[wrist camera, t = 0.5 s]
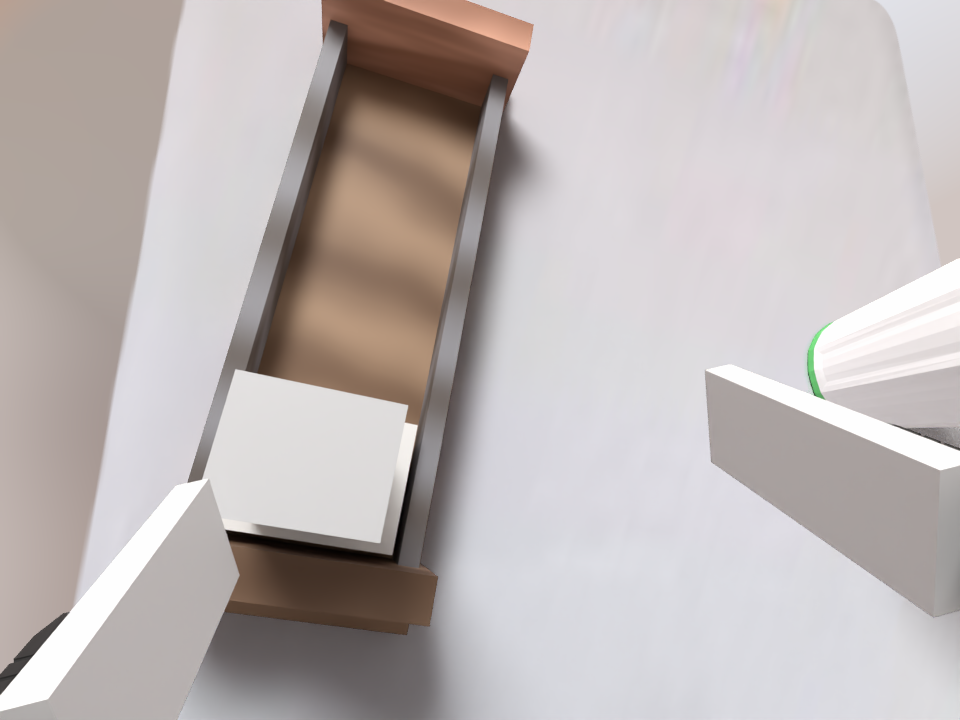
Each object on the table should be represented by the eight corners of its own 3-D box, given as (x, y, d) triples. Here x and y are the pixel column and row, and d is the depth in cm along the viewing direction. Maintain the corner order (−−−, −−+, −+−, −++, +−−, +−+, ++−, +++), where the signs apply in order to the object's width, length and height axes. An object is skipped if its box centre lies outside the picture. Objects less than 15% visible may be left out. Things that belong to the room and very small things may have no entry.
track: (403, 628, 29) (422, 665, 23) (164, 598, 27) (109, 628, 21) (503, 87, 40) (536, 5, 33) (336, 31, 37) (336, -69, 31)
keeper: (384, 548, 29) (425, 588, 15) (224, 522, 27) (116, 544, 14) (407, 434, 30) (462, 384, 17) (257, 404, 29) (190, 324, 16)
